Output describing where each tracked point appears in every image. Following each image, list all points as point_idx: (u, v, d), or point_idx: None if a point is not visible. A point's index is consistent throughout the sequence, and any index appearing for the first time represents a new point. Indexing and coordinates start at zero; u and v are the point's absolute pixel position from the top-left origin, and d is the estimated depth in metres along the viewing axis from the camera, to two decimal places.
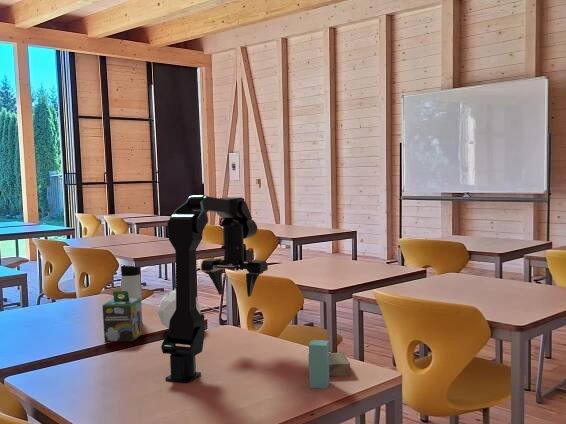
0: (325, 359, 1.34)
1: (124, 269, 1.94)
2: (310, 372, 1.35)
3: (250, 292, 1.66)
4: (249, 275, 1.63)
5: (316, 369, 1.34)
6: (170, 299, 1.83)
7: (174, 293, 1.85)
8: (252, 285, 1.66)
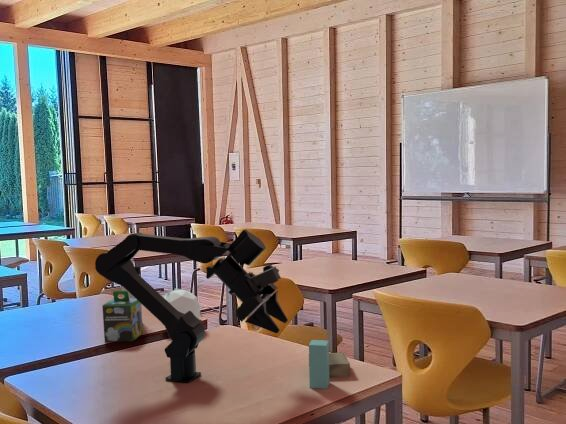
0: (325, 359, 1.34)
1: None
2: (310, 372, 1.35)
3: (272, 329, 1.33)
4: None
5: (316, 369, 1.34)
6: (170, 299, 1.83)
7: (174, 293, 1.85)
8: (266, 323, 1.32)
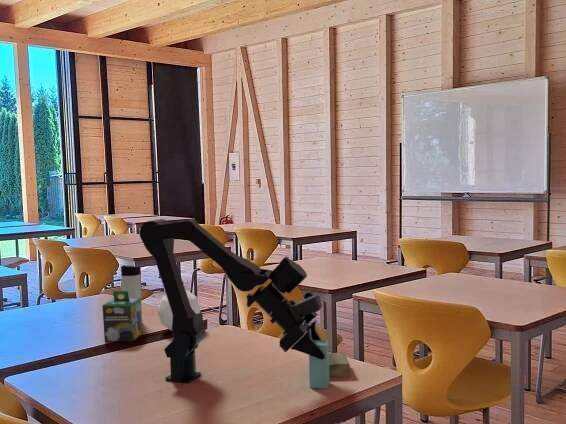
0: (325, 359, 1.34)
1: (124, 269, 1.94)
2: (310, 371, 1.35)
3: (318, 356, 1.33)
4: None
5: (316, 368, 1.34)
6: None
7: None
8: (312, 349, 1.33)
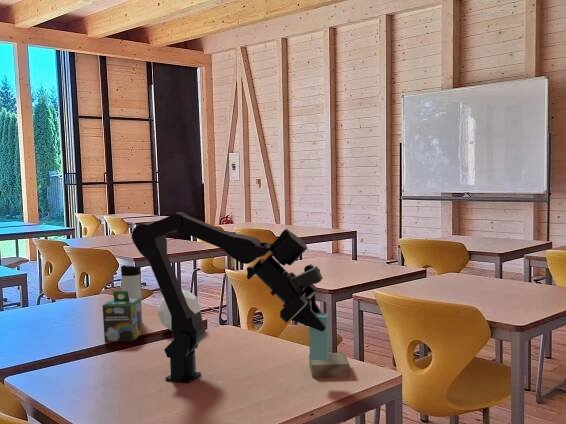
0: (325, 331, 1.34)
1: (124, 269, 1.94)
2: (310, 343, 1.35)
3: (318, 327, 1.33)
4: None
5: (317, 340, 1.34)
6: None
7: None
8: (312, 321, 1.33)
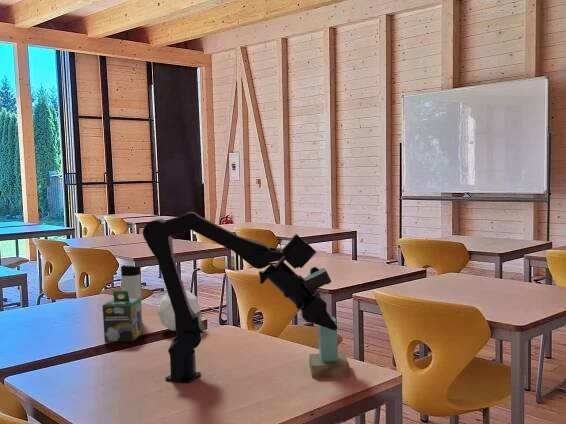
0: (336, 333, 1.44)
1: (124, 269, 1.94)
2: (322, 347, 1.44)
3: (332, 327, 1.41)
4: None
5: (328, 343, 1.44)
6: None
7: None
8: (326, 321, 1.40)
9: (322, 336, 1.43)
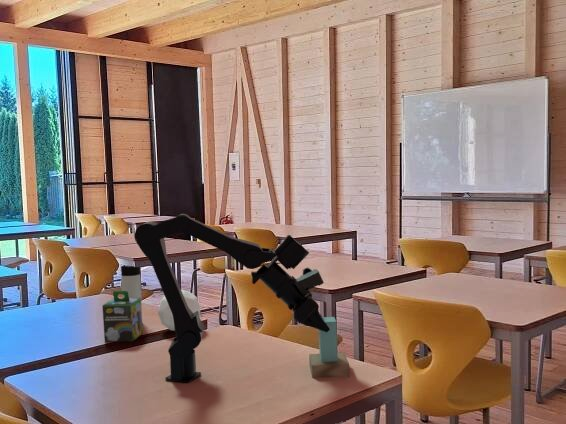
0: (335, 334, 1.43)
1: (124, 269, 1.94)
2: (322, 347, 1.43)
3: (324, 329, 1.40)
4: None
5: (327, 344, 1.43)
6: None
7: None
8: (319, 323, 1.39)
9: (322, 337, 1.43)
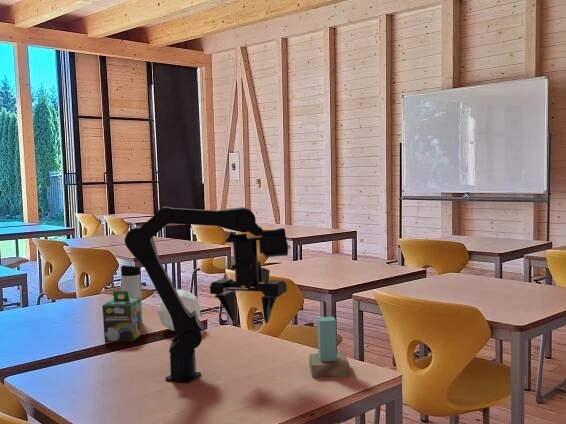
0: (335, 333, 1.44)
1: (124, 269, 1.94)
2: (321, 346, 1.44)
3: (267, 318, 1.42)
4: (265, 299, 1.39)
5: (327, 343, 1.44)
6: None
7: None
8: (269, 310, 1.42)
9: (321, 336, 1.44)
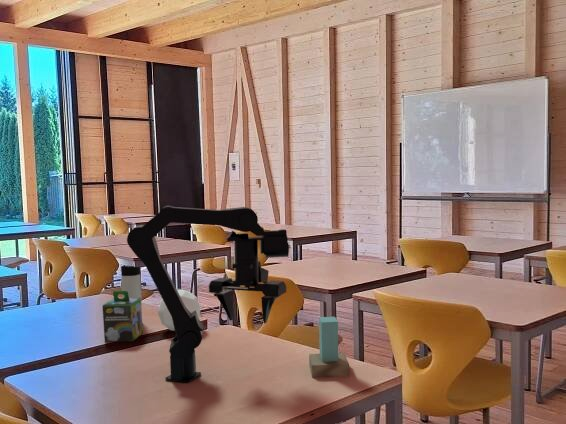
0: (337, 334, 1.43)
1: (124, 269, 1.94)
2: (323, 347, 1.43)
3: (266, 318, 1.42)
4: (265, 299, 1.39)
5: (329, 343, 1.43)
6: None
7: None
8: (268, 310, 1.42)
9: (323, 337, 1.43)
